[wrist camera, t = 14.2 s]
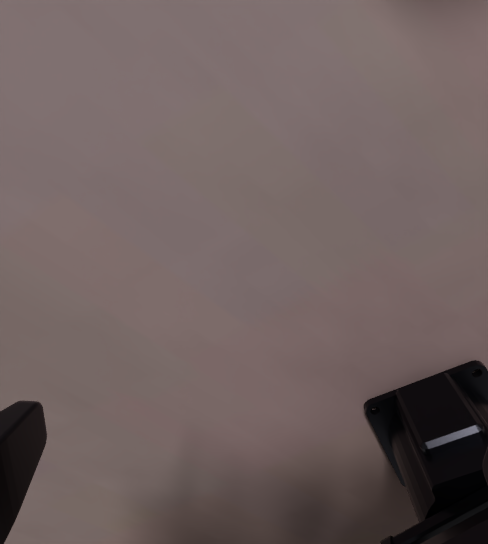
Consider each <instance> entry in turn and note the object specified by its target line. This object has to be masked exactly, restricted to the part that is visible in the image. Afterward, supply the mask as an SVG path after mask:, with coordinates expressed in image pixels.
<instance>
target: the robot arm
mask: <svg viewBox="0 0 488 544" xmlns="http://www.w3.org/2000/svg"><path fill="white" fill-rule="evenodd" d="M476 369H479V370H478V371H477V372H475V373H472V372H473V371H474V370H476ZM373 407H378V408H377V409H375V410H372V408H373ZM364 408H365V411H366V414H367V416H368V418H369V420H370V422H371V424H372V426H373V428H374V430H375V432H376V434H377V436H378V438H379V440H380V442H381V444H382V446H383V448H384V450H385V452H386V454H387V456H388V458H389V460H390V462H391V464H392V466H393V468H394V470H395V472H396V474H397V476H398V478H399V480H400V482H401V484H402V485H403V486H405V487H406V488H407V491H408V494H409V496H410V499H411V502H412V504H413V507H414V510H415V512H416V515H417V518H418V520H419V523H418V524H416V525H414V526H412V527H411V528H409V529H407V530H405V531H403V532H402V533H400V534H398V535H396V536H394V537H393V536H389V537H387V538H386V539H384V540H382V541H381V544H488V371H487V369H486V367H485V366H484V365H483V364H482V362H480V361H470V362H468V363H465V364H462V365H460V366H457V367H454V368H452V369H449V370H446V371H444V372H441V373H438V374H436V375H433V376H430V377H428V378H425V379H422V380H420V381H417V382H414V383H412V384H409V385H406V386H404V387H401V388H398V389H396V390H393V391H391V392H388V393H385V394H383V395H380V396H377V397H375V398H372V399H370V400H368V401H367V402H366V403H365V405H364ZM46 439H47V432H46V425H45V419H44V412H43V407H42V405H41V403H39V402H36V401H18V402H16V403H14V404H12V405H11V406H9V407H7V408H6V409H4V410H2V411H0V544H4V542H5V540H6V538H7V536H8V534H9V532H10V530H11V528H12V526H13V524H14V522H15V520H16V518H17V515H18V513H19V511H20V508H21V506H22V503H23V501H24V498H25V496H26V493H27V490H28V488H29V485H30V483H31V480H32V478H33V475H34V473H35V470H36V468H37V465H38V463H39V460H40V458H41V455H42V452H43V450H44V447H45V444H46Z"/></svg>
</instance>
